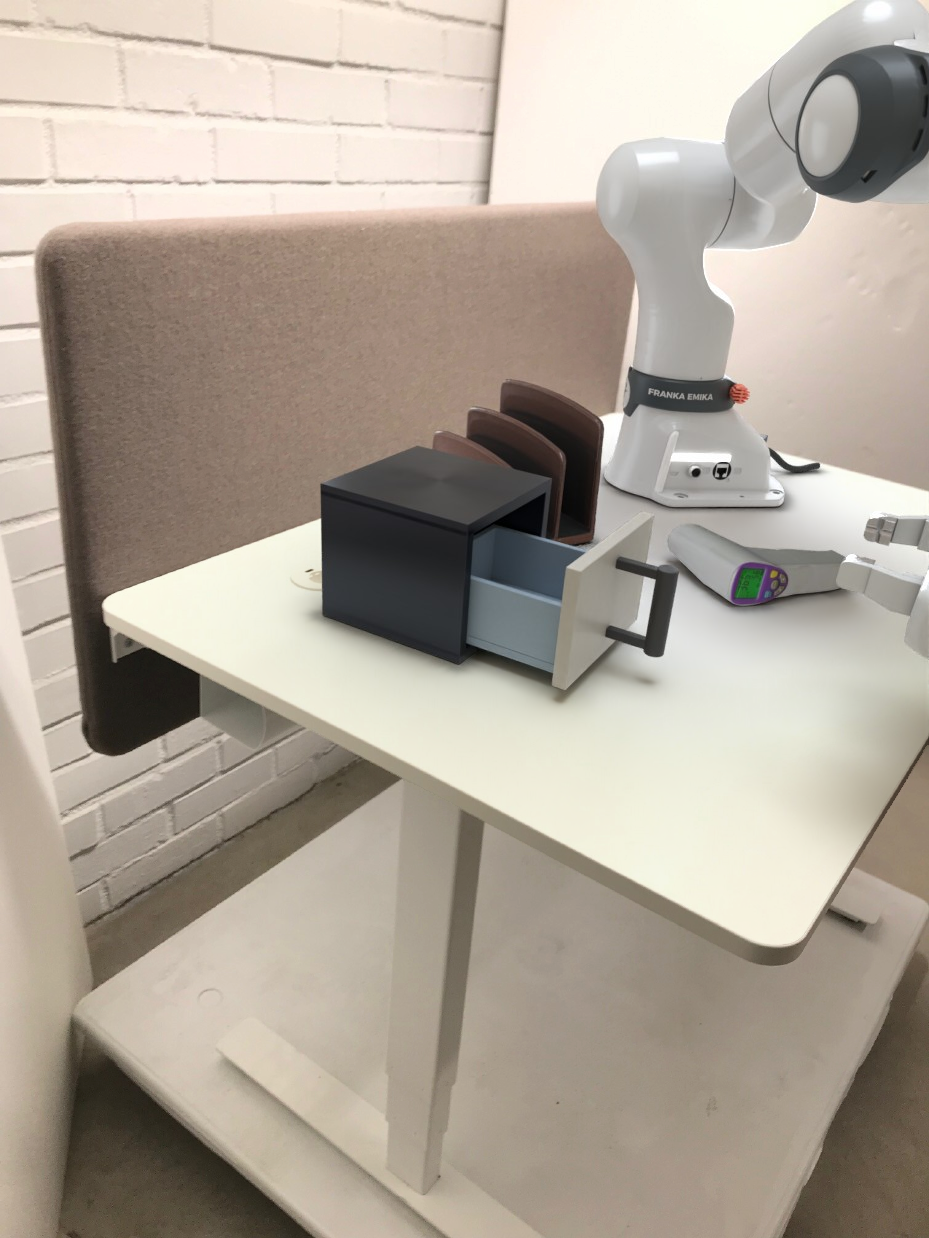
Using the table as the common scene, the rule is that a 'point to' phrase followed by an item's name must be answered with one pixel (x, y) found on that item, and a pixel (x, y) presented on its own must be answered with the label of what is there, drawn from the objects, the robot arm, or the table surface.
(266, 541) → the table surface
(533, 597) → the open pull-out drawer
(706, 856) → the table surface
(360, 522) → the cabinet
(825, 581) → the infrared thermometer
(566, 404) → the letter holder
